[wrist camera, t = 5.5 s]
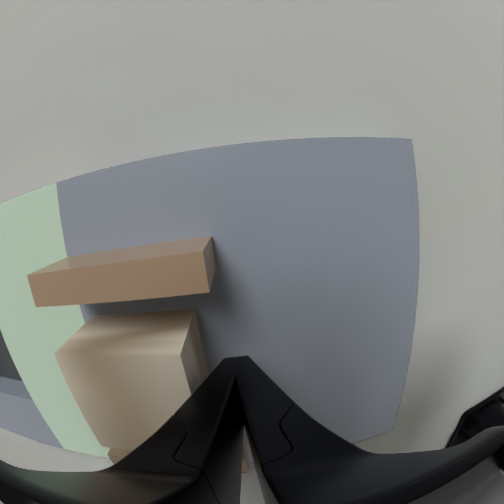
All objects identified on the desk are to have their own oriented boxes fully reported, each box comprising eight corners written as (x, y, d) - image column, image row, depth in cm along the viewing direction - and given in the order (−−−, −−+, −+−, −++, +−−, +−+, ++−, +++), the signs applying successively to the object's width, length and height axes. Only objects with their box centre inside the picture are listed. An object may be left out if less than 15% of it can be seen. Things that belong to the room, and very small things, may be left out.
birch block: (195, 308, 9) (180, 354, 6) (214, 398, 10) (210, 453, 7) (93, 315, 9) (53, 353, 6) (123, 398, 10) (101, 446, 7)
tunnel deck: (386, 145, 11) (454, 128, 6) (379, 408, 13) (411, 460, 9) (-53, 233, 10) (-97, 246, 5) (12, 413, 13) (-14, 446, 8)
